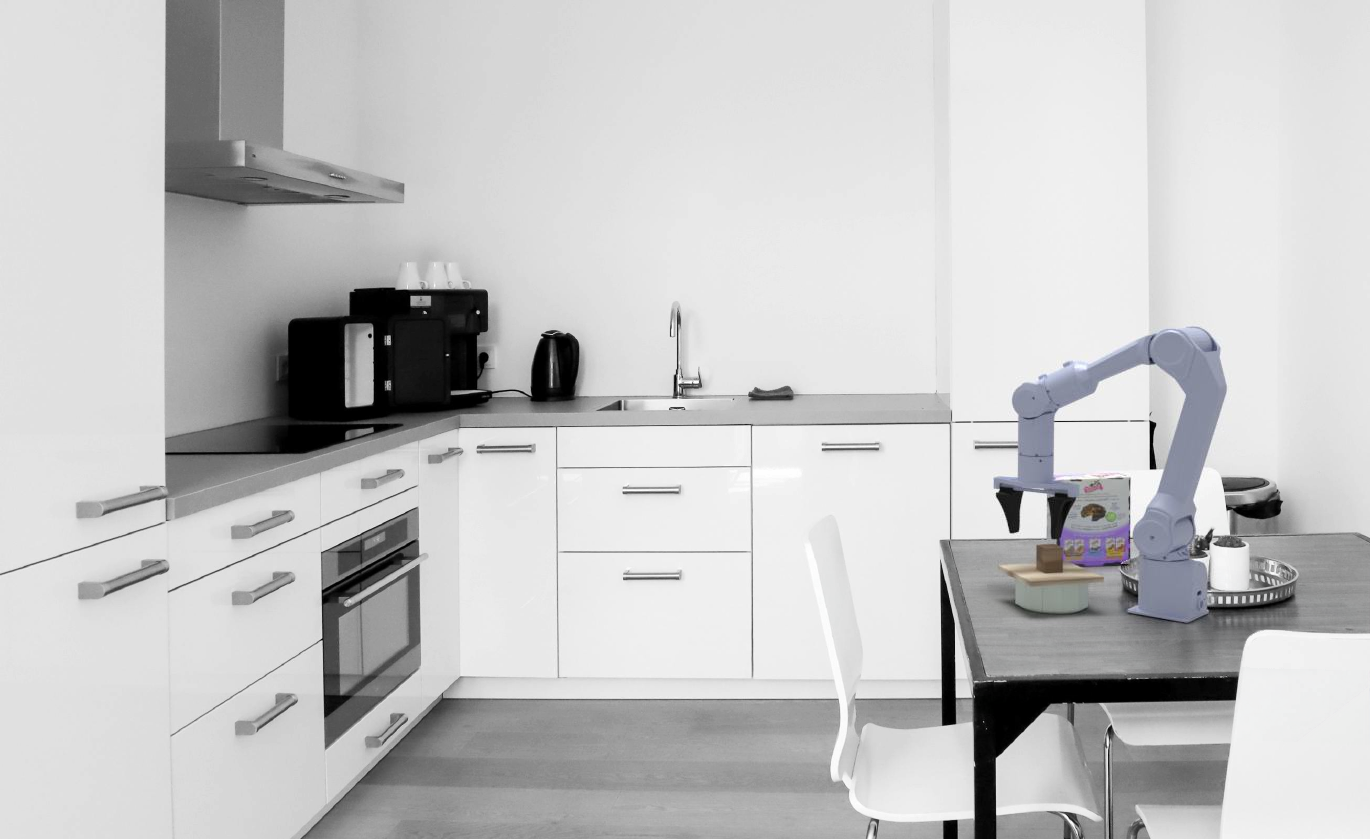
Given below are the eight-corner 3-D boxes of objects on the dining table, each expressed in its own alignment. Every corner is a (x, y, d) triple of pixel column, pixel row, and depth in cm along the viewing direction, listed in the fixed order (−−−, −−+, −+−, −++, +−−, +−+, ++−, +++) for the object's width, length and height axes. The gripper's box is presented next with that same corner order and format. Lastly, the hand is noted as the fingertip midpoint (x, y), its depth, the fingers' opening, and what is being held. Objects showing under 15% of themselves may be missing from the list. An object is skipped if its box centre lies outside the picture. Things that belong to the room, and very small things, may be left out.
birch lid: (1103, 582, 181) (1104, 551, 181) (1030, 586, 179) (1031, 555, 179) (1066, 565, 193) (1066, 537, 193) (997, 569, 191) (997, 540, 191)
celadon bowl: (1100, 605, 187) (1100, 574, 187) (1066, 618, 179) (1066, 586, 179) (1037, 594, 195) (1037, 564, 194) (1002, 606, 187) (1002, 576, 187)
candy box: (1118, 558, 220) (1119, 471, 218) (1131, 565, 214) (1132, 476, 212) (1045, 561, 219) (1045, 473, 218) (1056, 567, 213) (1057, 478, 212)
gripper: (1088, 455, 192) (1087, 537, 193) (1008, 448, 202) (1008, 526, 203) (1067, 460, 187) (1066, 543, 188) (987, 452, 197) (986, 532, 198)
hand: (1034, 535), depth 195 cm, fingers open, 7 cm apart
